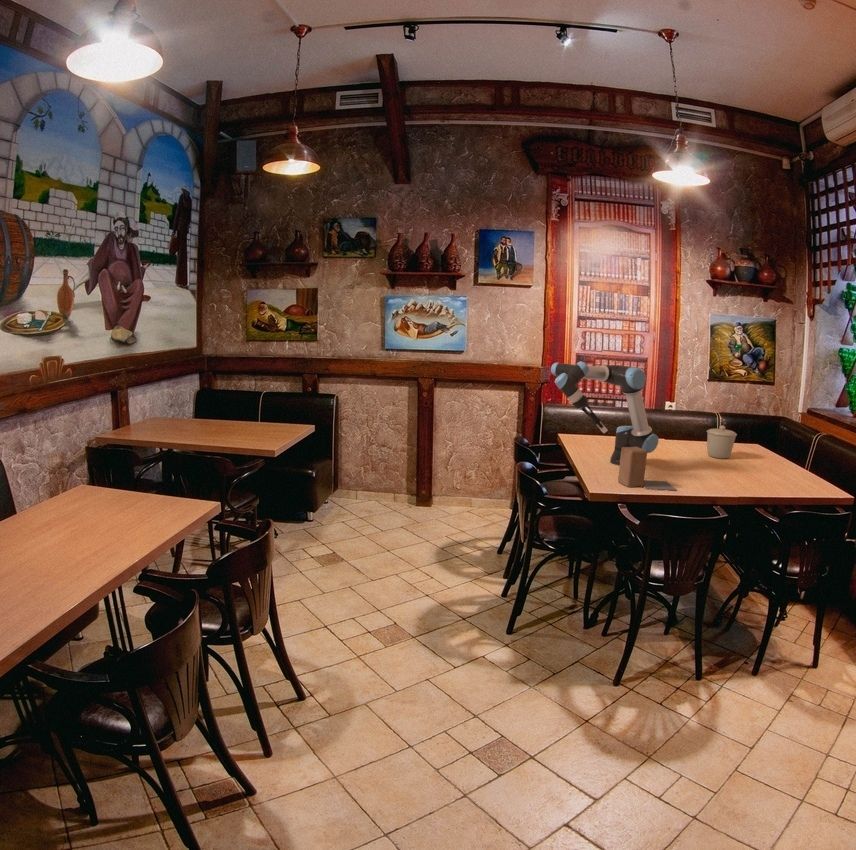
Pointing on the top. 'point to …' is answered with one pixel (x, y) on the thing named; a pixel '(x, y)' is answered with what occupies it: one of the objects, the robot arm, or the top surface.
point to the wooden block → (632, 466)
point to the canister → (720, 442)
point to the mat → (658, 485)
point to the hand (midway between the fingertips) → (605, 431)
